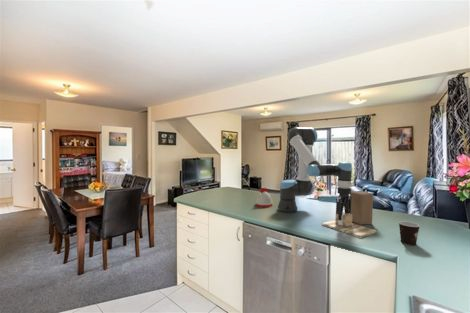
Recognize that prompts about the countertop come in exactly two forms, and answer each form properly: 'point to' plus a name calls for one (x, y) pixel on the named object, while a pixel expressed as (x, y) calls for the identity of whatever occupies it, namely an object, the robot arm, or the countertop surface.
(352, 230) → the board
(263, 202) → the kitchen timer
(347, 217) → the block
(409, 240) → the coffee mug
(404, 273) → the countertop surface
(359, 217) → the block
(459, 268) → the countertop surface
